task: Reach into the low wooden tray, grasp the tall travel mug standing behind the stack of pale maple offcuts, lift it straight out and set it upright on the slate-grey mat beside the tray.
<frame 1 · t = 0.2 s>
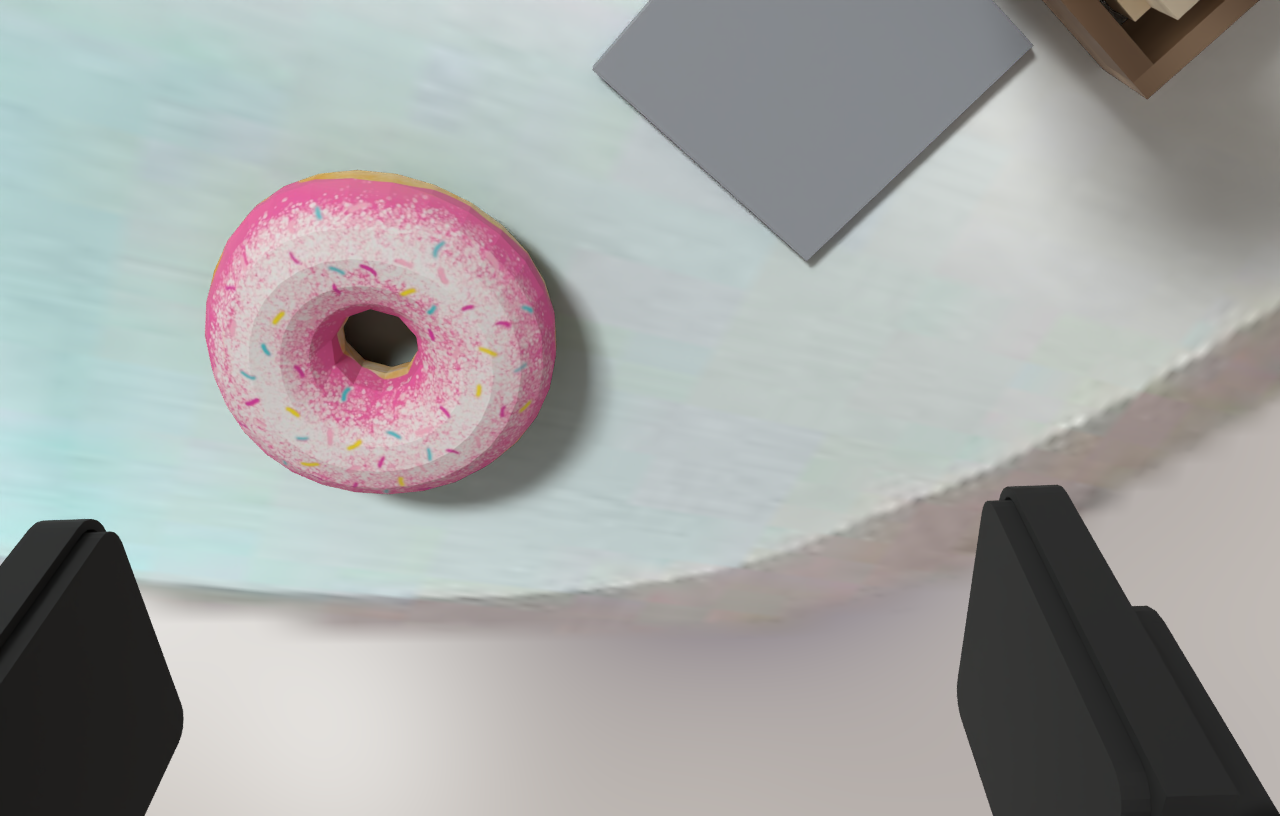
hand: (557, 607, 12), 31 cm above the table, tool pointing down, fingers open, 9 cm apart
slate mat: (809, 53, 39), on the table
donut: (397, 310, 45), on the table
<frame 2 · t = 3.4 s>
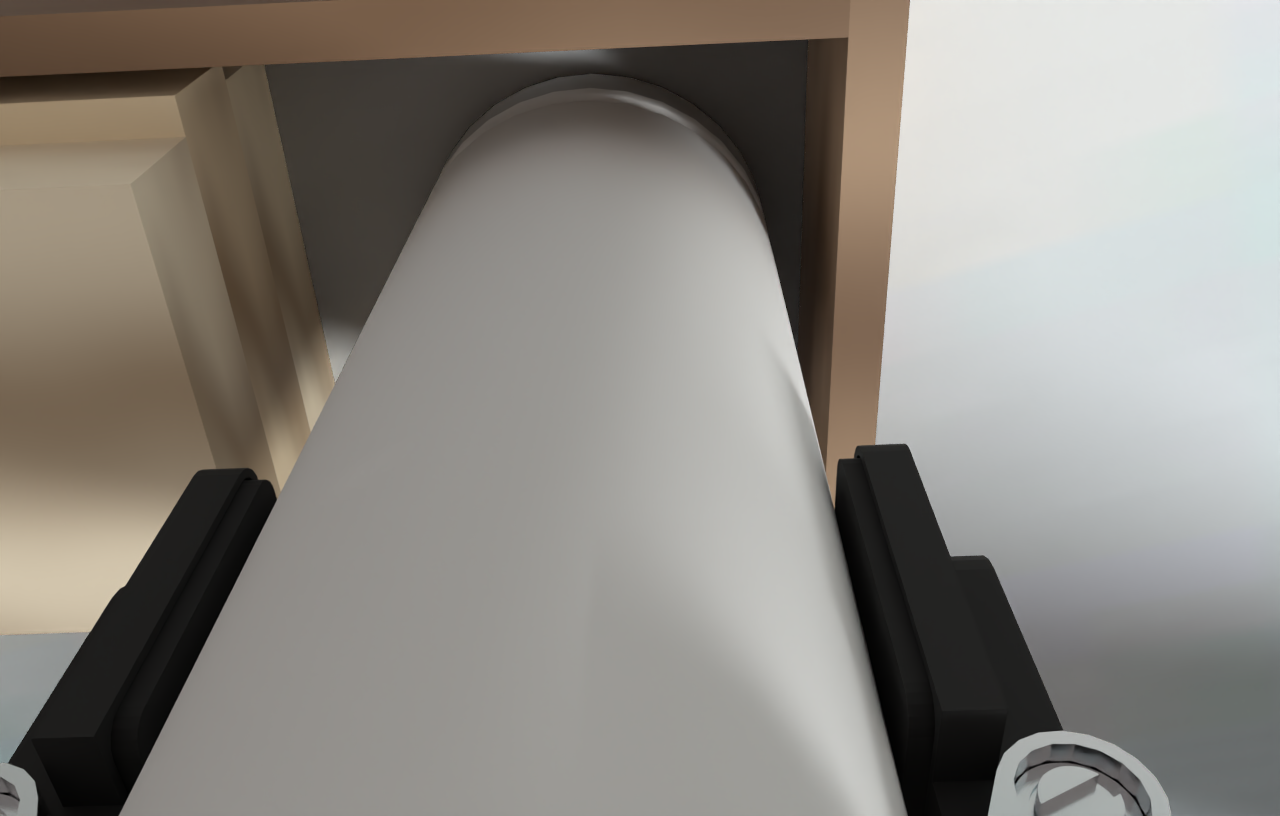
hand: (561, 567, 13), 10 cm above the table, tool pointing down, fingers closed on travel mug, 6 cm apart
travel mug: (592, 239, 21), resting in wooden tray, touching gripper
maple offcut stack: (179, 257, 21), resting in wooden tray
wooden tray: (383, 252, 21), on the table
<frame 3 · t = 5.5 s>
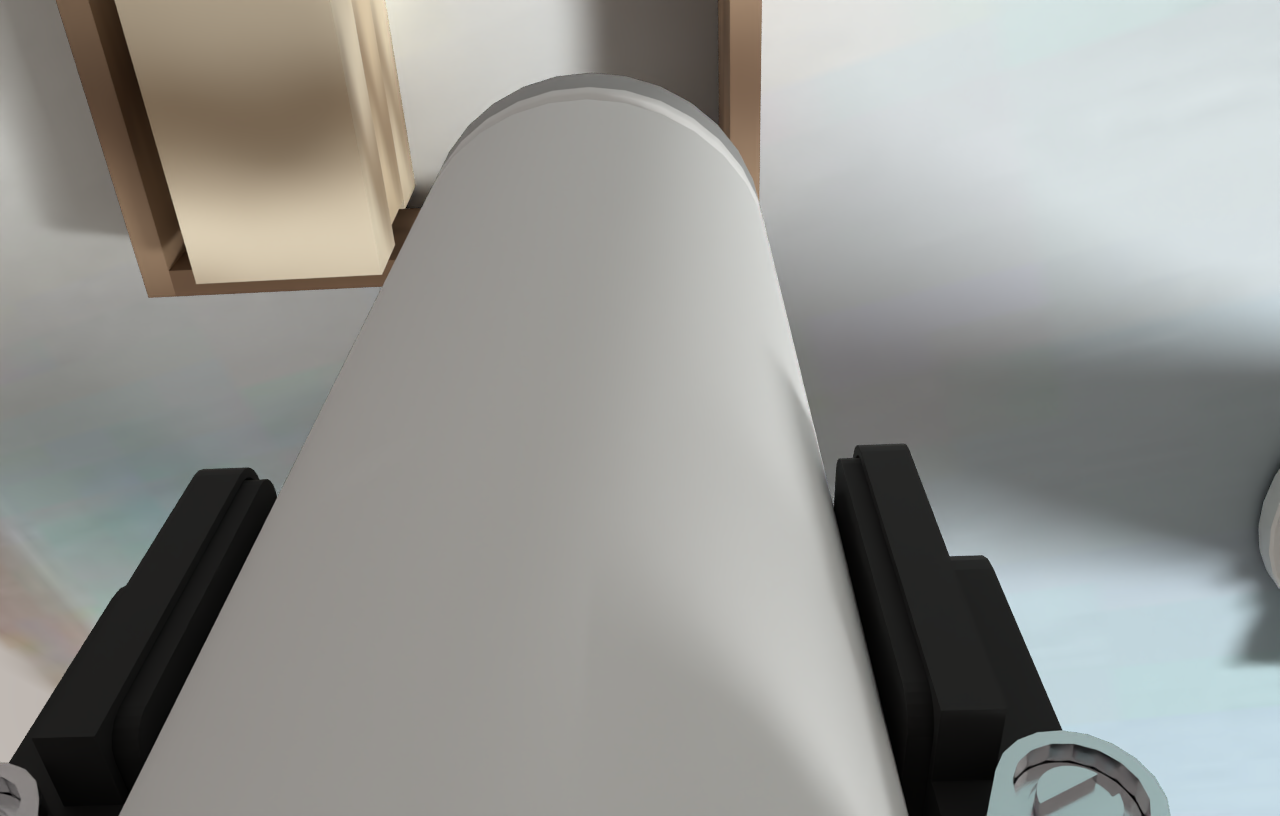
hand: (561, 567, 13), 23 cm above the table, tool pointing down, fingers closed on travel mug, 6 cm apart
travel mug: (591, 238, 21), point 13 cm above the table, touching gripper
maple offcut stack: (311, 66, 32), resting in wooden tray
wooden tray: (445, 60, 32), on the table
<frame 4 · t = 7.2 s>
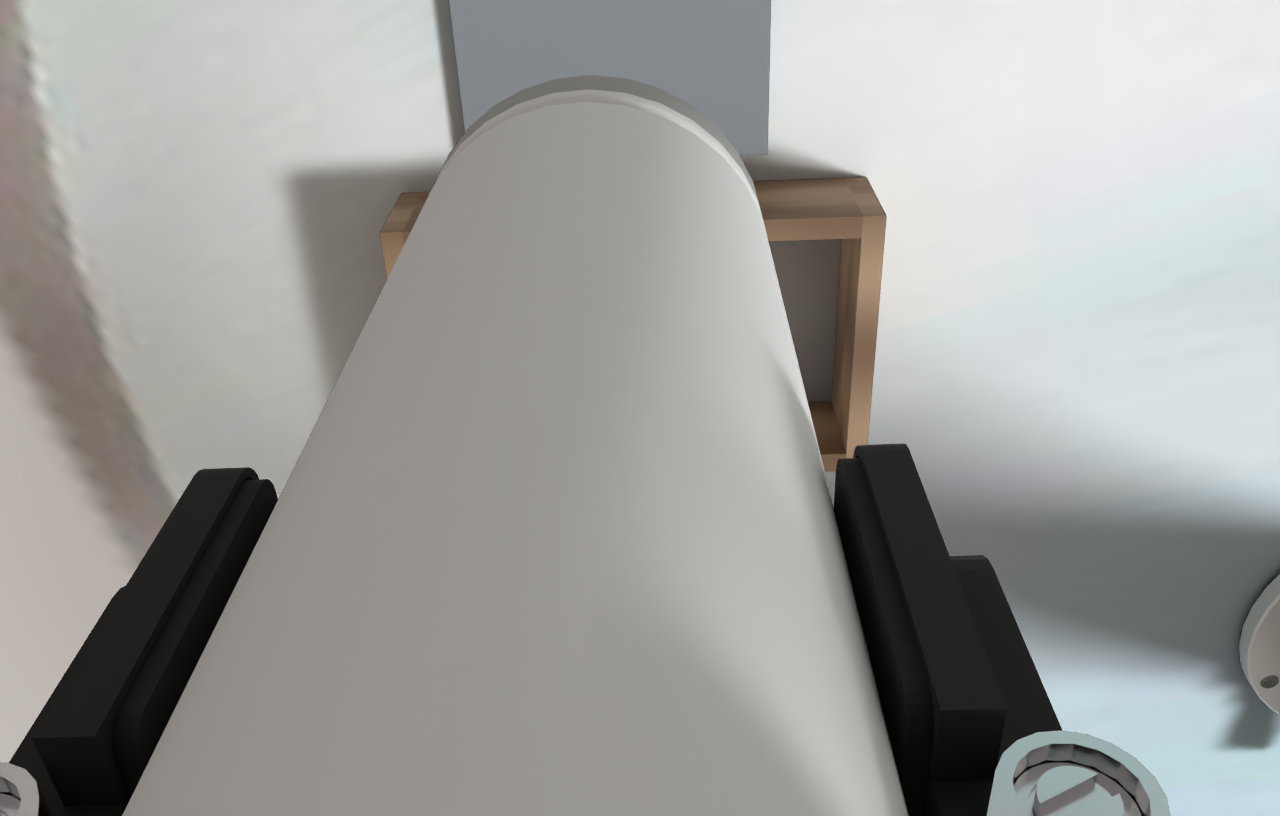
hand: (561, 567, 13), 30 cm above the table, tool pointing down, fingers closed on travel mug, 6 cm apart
travel mug: (591, 240, 21), point 20 cm above the table, touching gripper
wooden tray: (638, 311, 44), on the table
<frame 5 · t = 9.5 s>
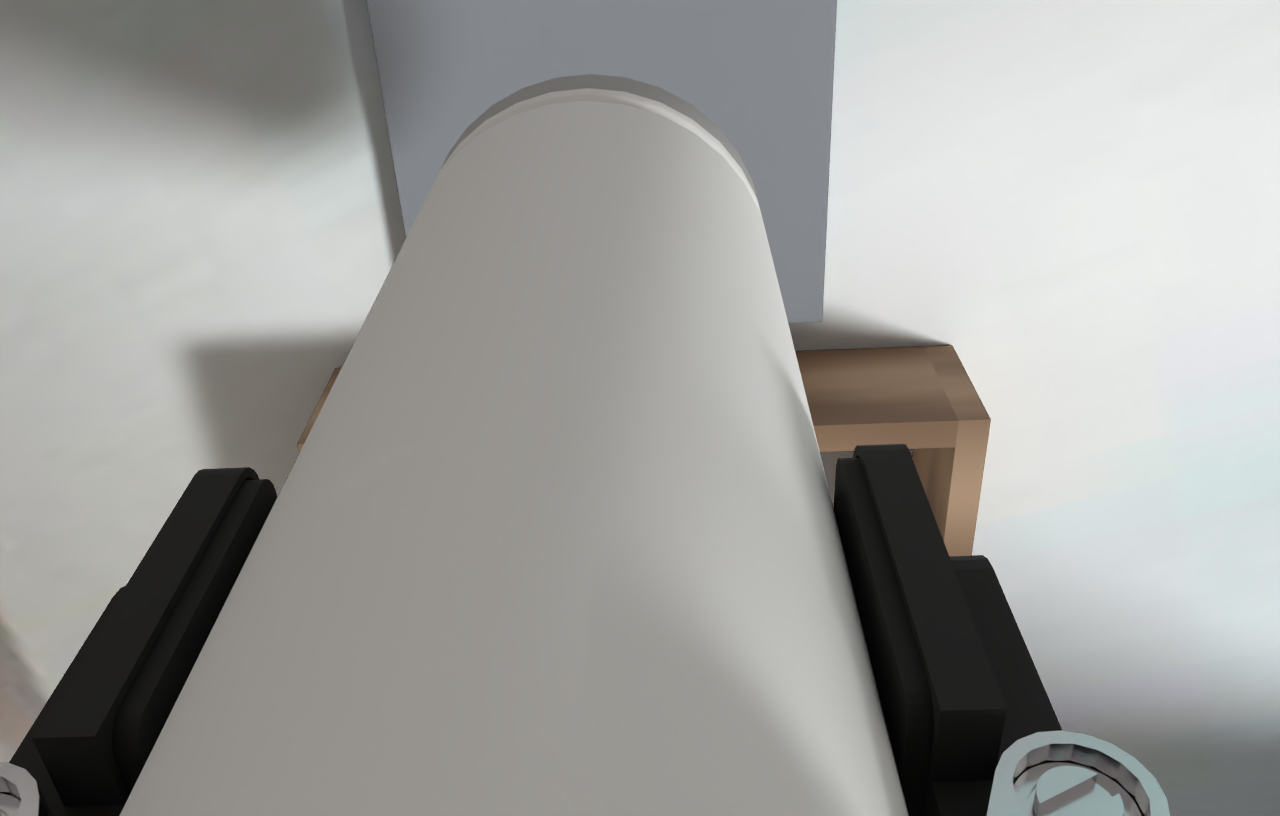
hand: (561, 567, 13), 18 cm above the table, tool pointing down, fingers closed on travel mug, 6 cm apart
slate mat: (610, 125, 28), on the table
travel mug: (590, 239, 21), point 8 cm above the table, touching gripper
wooden tray: (649, 507, 34), on the table
when the fingers open (11 cm above the table, at t = 11.3 s): travel mug stays where it is, resting on slate mat.
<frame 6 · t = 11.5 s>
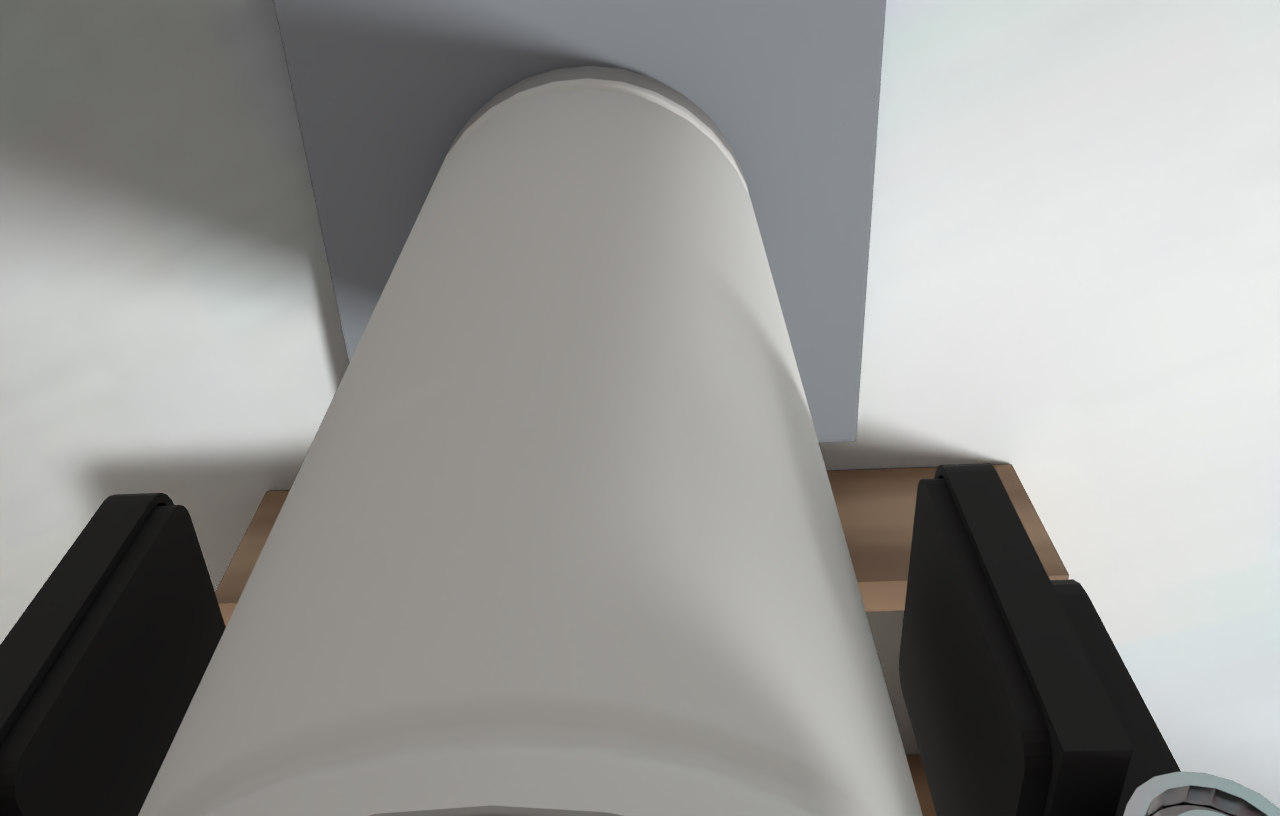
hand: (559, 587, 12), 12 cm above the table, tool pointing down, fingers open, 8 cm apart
slate mat: (596, 209, 22), on the table
travel mug: (587, 224, 22), resting on slate mat
wooden tray: (645, 644, 28), on the table
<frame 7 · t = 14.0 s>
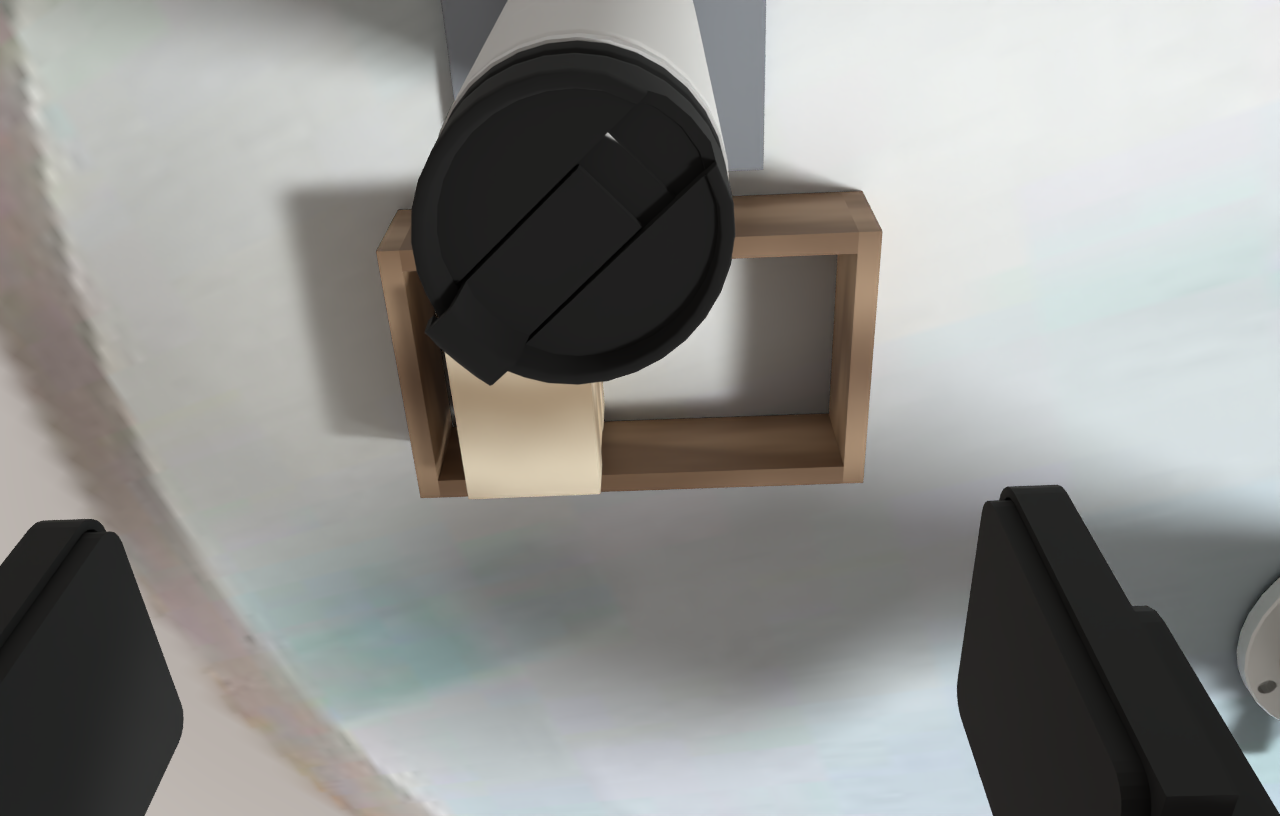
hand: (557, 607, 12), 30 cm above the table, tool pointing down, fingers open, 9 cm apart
slate mat: (605, 17, 38), on the table
travel mug: (600, 24, 37), resting on slate mat
maple offcut stack: (536, 327, 44), resting in wooden tray
wooden tray: (635, 325, 44), on the table
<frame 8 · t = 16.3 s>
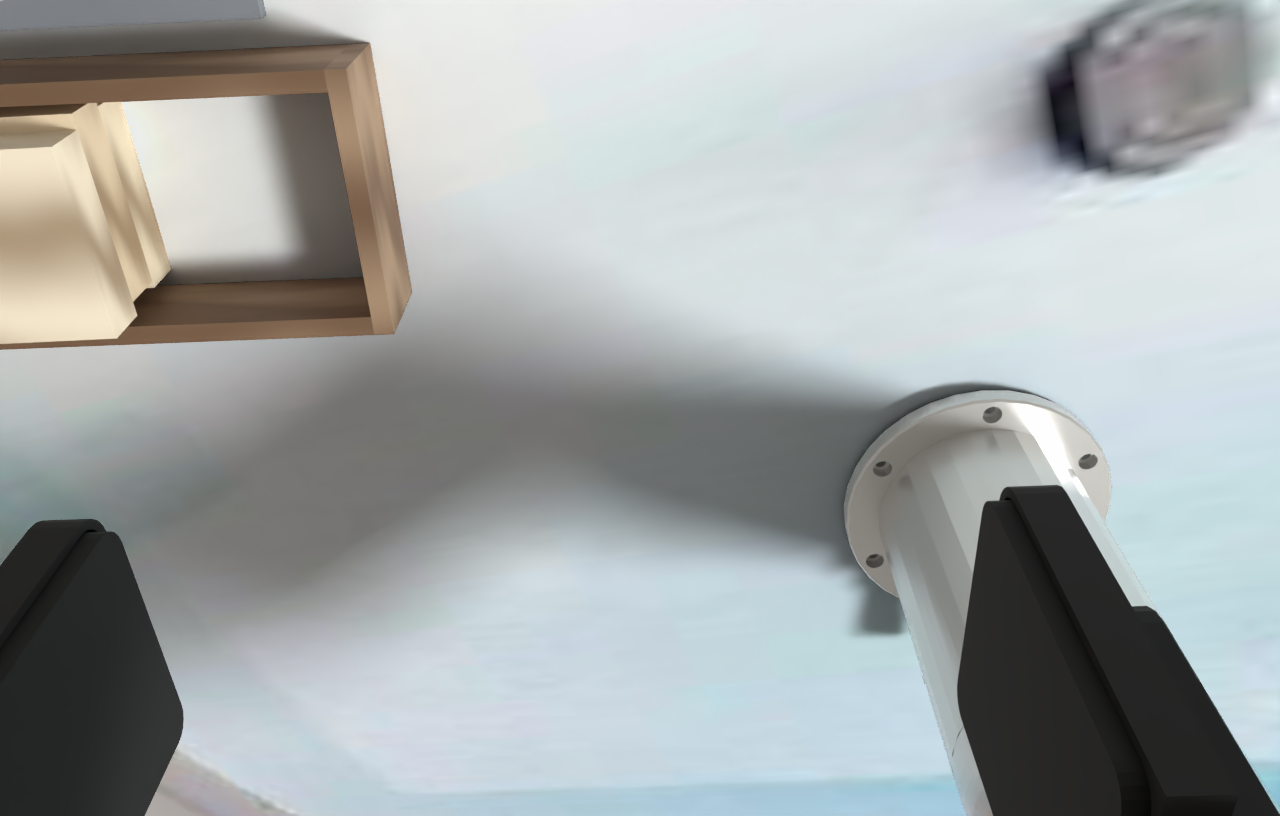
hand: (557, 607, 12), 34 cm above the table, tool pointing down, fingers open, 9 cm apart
maple offcut stack: (87, 187, 45), resting in wooden tray
wooden tray: (181, 184, 45), on the table
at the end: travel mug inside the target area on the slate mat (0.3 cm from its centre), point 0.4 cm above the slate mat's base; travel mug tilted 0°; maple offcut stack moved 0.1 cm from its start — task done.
